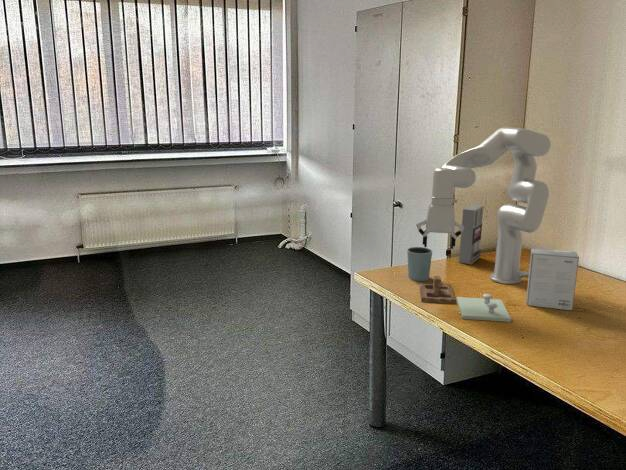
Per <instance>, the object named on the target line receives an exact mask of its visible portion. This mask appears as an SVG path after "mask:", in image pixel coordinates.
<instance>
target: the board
mask: <svg viewBox="0 0 626 470" xmlns="http://www.w3.org/2000/svg"><path fill="white" fill-rule="evenodd" d="M455 301H456V303H457V306H458V309H459V313H460V315H461V319H462V320H477V321H489V322H490V321H491V322H492V321H493V322H507V323H510V322H511V323H512V317H511V315H510V314H509V312H508V309H507V308H506V306H505V304H504V302H503V301H502V299H496V298H493V295H492V294H490V293H484V294H482V297H481V298H480V297H479V298H478V297H467V296H466V297H465V296H464V297H463V296H456V299H455Z"/></svg>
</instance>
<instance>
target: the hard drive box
mask: <svg viewBox="0 0 626 470" xmlns="http://www.w3.org/2000/svg"><path fill="white" fill-rule="evenodd" d="M530 249H531V250H530V257H529V270H528V273H529V277H527V278H528V279H527V281H528V282H527V289H526V298H525V300H526V305H527V306H531V307H539V308H548V309H549V308H550V309H555V310H556V309H557V310H563V311H564V310H565V311H573V309H574V300H575V294H576V293H575V291H576V287H577V286H576V283H577V276H578V268H579V262H580V257H579V255H578V253H577V251H569V250H568V251H567V250H558V249H557V250H556V249H555V250H554V249H543V248H542V249H541V248H530Z"/></svg>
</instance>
